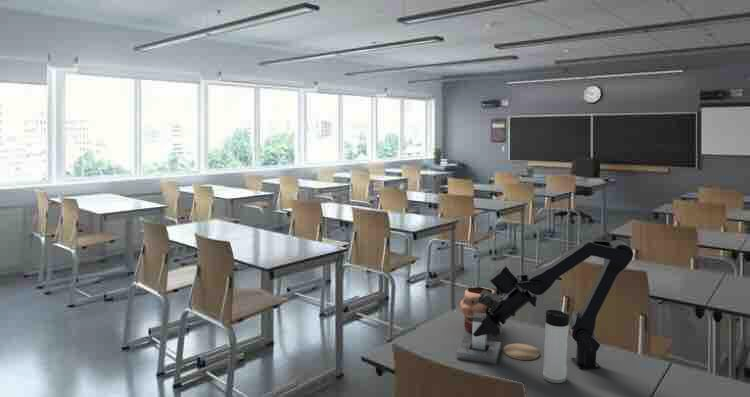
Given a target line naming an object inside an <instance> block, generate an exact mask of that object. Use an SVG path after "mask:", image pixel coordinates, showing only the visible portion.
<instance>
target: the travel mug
mask: <svg viewBox="0 0 750 397" xmlns="http://www.w3.org/2000/svg"><path fill="white" fill-rule="evenodd" d="M569 319H570V315H569V314H568V313H565V312H564V311H561V310H556V309H547V310H546V311H545V323H544V324H545V327H544V345H543V348H544V350H543V370H542V371H543V373H542V377H543V379H544V380H546V381H547V382H550V383H554V384H561V383H564V382H566V381H567V370H568V369H567V367H568V350H569V349H568V348H569V347H568V346H569V331H570V329H569Z"/></svg>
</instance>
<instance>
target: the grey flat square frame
mask: <svg viewBox="0 0 750 397" xmlns="http://www.w3.org/2000/svg"><path fill="white" fill-rule="evenodd" d="M501 349H502V342H500V341H492V340H487V352H483V351H476V350H472V337H463V339H462V341H461V343H460V345H459V347H458V349H457V350H456V359H459V360H465V361H466V360H467V361H471V362H478V363H479V362H480V363H487V364H492V365H497V362H498V359H499V357H500V356H499V354H500V352H501Z"/></svg>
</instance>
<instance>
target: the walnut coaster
mask: <svg viewBox="0 0 750 397" xmlns="http://www.w3.org/2000/svg"><path fill="white" fill-rule="evenodd" d="M503 353H504V354H505V355H506V356H507V357H510V358H512V359H515V360H519V361H520V360H521V361H531V360H535V359H537V358H539V357H540V354H541V353H540V350H539V349H538V348H537V347H535V346H532V345H531V344H526V343H519V342H518V343H509V344H506V345H504V347H503Z"/></svg>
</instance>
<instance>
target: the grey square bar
mask: <svg viewBox="0 0 750 397" xmlns="http://www.w3.org/2000/svg"><path fill="white" fill-rule="evenodd" d="M485 315H487V314H483V313H474V315H473V323H472V331H471V332H472V335H471V338H472V349H471V350H476V351H483V352H487V341H488V334H487V335H482V336H477V337H475V336H474V335H473V333H474V332H475V331H476V330H477V329H478V327H479V326H480V325H481V324H482V323H481V320H482V317H483V316H485Z"/></svg>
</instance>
